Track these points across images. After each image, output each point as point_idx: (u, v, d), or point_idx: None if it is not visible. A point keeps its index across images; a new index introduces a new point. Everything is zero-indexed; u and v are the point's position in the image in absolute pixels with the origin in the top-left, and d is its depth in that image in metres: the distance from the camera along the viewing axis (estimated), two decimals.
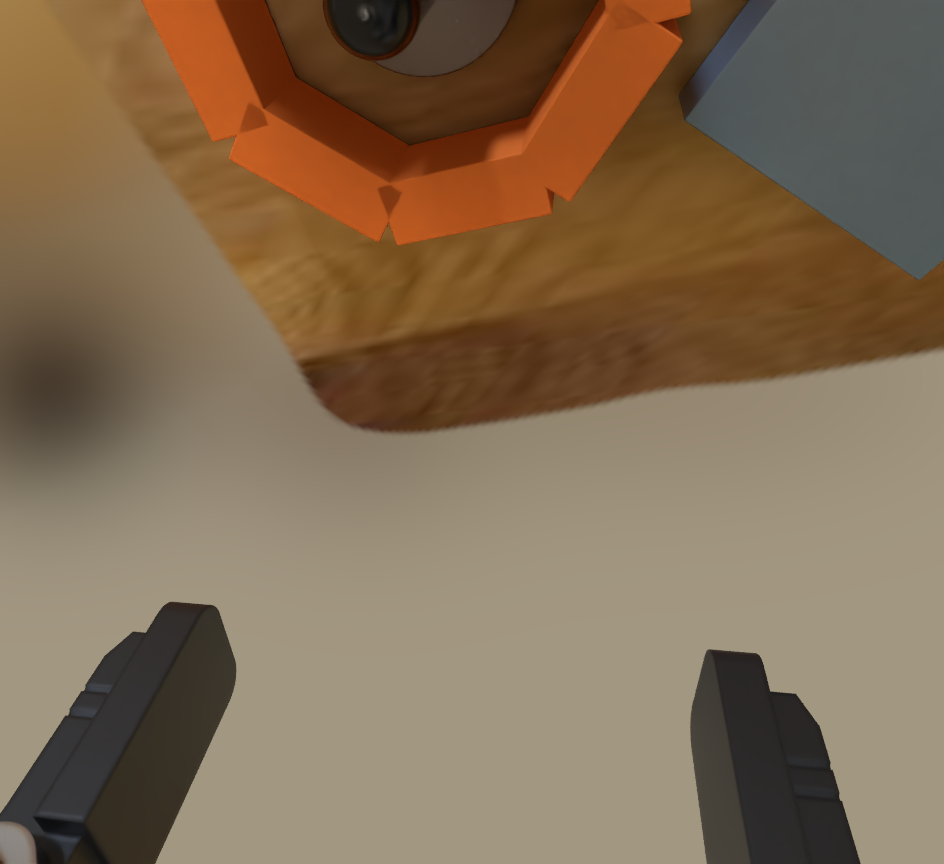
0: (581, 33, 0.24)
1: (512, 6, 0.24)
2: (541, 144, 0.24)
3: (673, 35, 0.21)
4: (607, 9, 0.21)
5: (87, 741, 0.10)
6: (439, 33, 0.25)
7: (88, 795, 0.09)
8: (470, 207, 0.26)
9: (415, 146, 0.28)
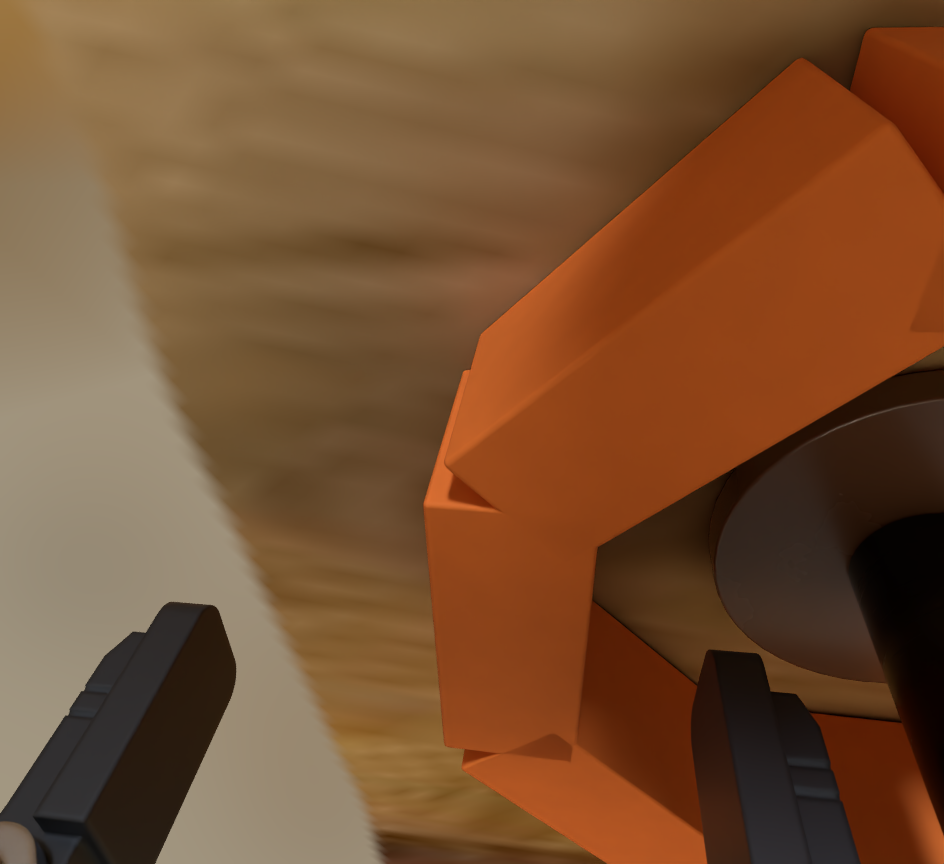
0: None
1: None
2: None
3: None
4: None
5: (87, 741, 0.10)
6: None
7: (88, 795, 0.09)
8: None
9: None
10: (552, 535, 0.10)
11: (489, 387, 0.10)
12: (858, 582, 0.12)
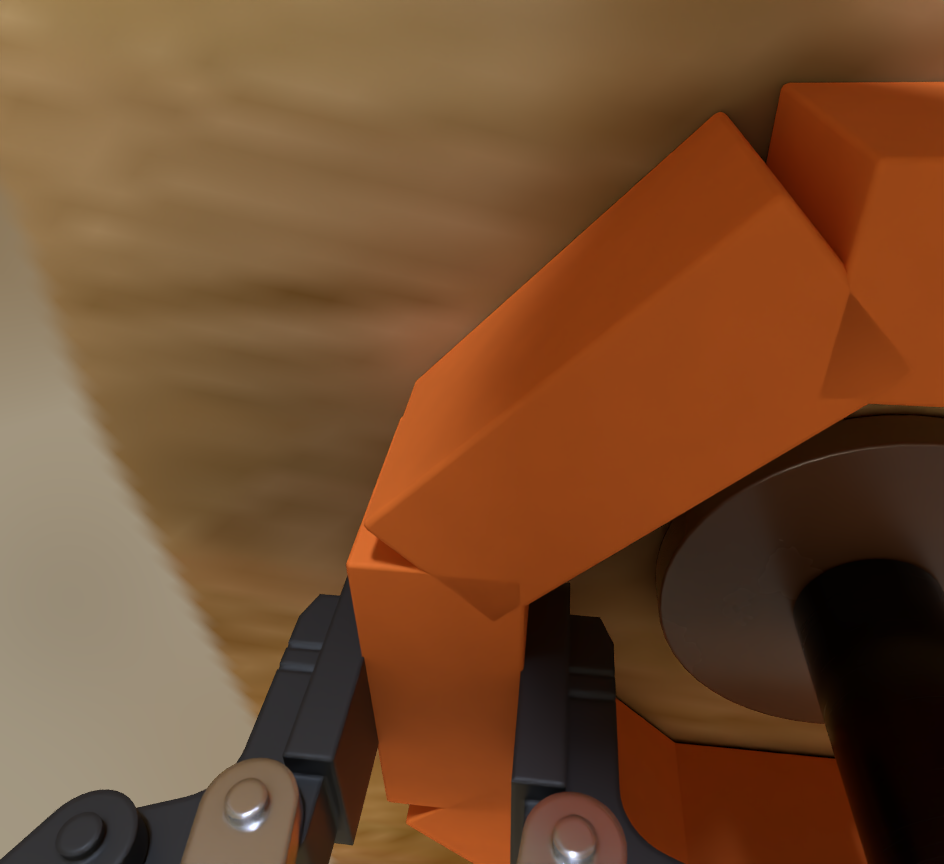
0: None
1: None
2: None
3: None
4: None
5: (315, 690, 0.10)
6: None
7: (330, 737, 0.09)
8: None
9: (691, 757, 0.16)
10: (478, 595, 0.09)
11: (413, 443, 0.10)
12: (801, 628, 0.12)
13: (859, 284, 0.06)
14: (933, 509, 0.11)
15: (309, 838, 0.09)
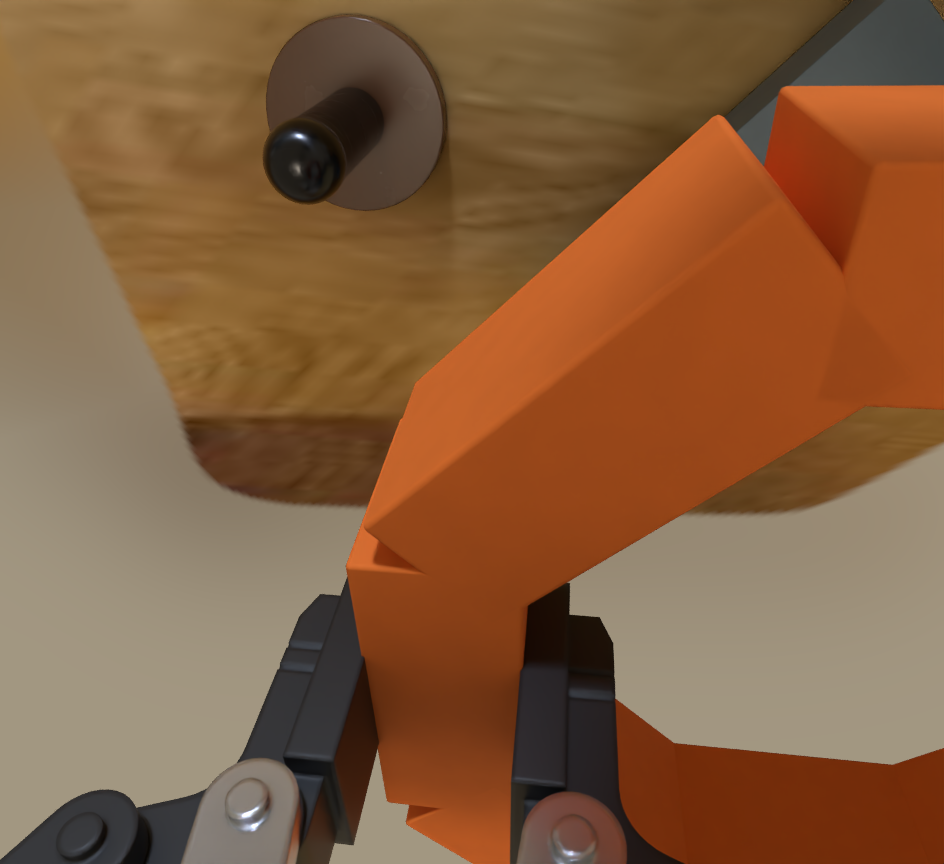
0: None
1: (428, 173, 0.28)
2: None
3: None
4: None
5: (315, 690, 0.10)
6: (364, 178, 0.29)
7: (330, 737, 0.09)
8: None
9: (690, 757, 0.16)
10: (477, 596, 0.09)
11: (412, 445, 0.10)
12: None
13: (856, 288, 0.07)
14: (356, 54, 0.26)
15: (309, 838, 0.09)
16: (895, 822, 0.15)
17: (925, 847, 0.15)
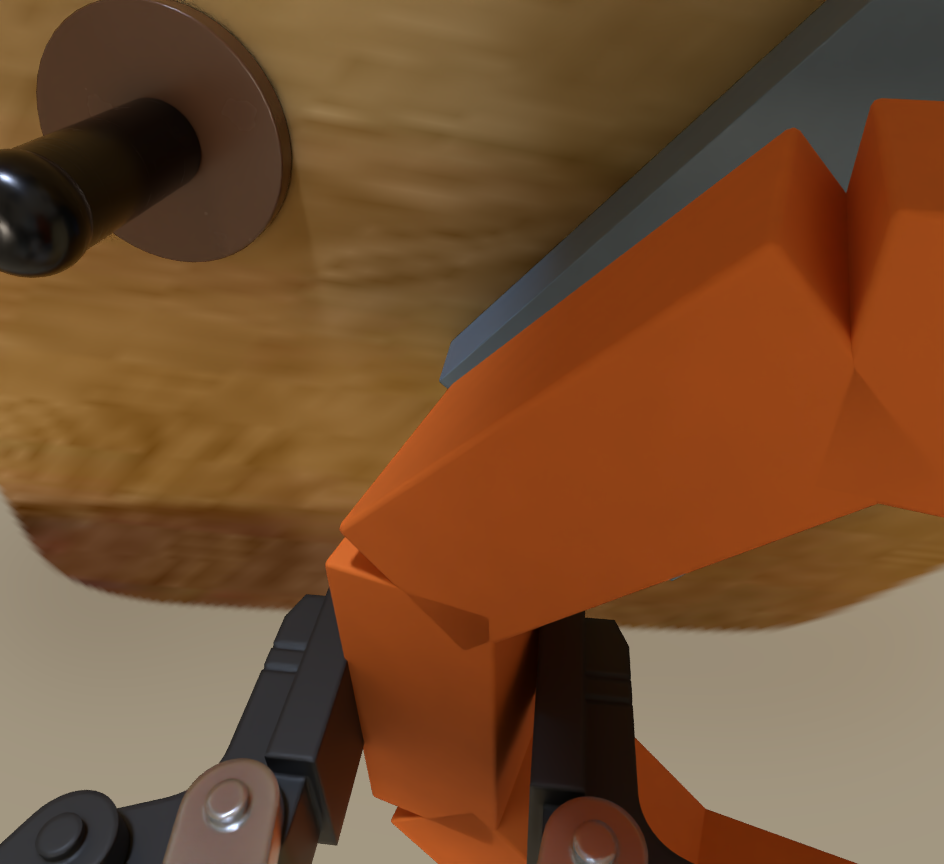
0: None
1: (269, 215, 0.21)
2: None
3: None
4: None
5: (298, 690, 0.10)
6: (185, 220, 0.21)
7: (312, 737, 0.09)
8: None
9: (720, 829, 0.15)
10: (448, 621, 0.09)
11: (408, 453, 0.09)
12: None
13: (866, 360, 0.05)
14: (149, 52, 0.19)
15: (290, 838, 0.09)
16: None
17: None
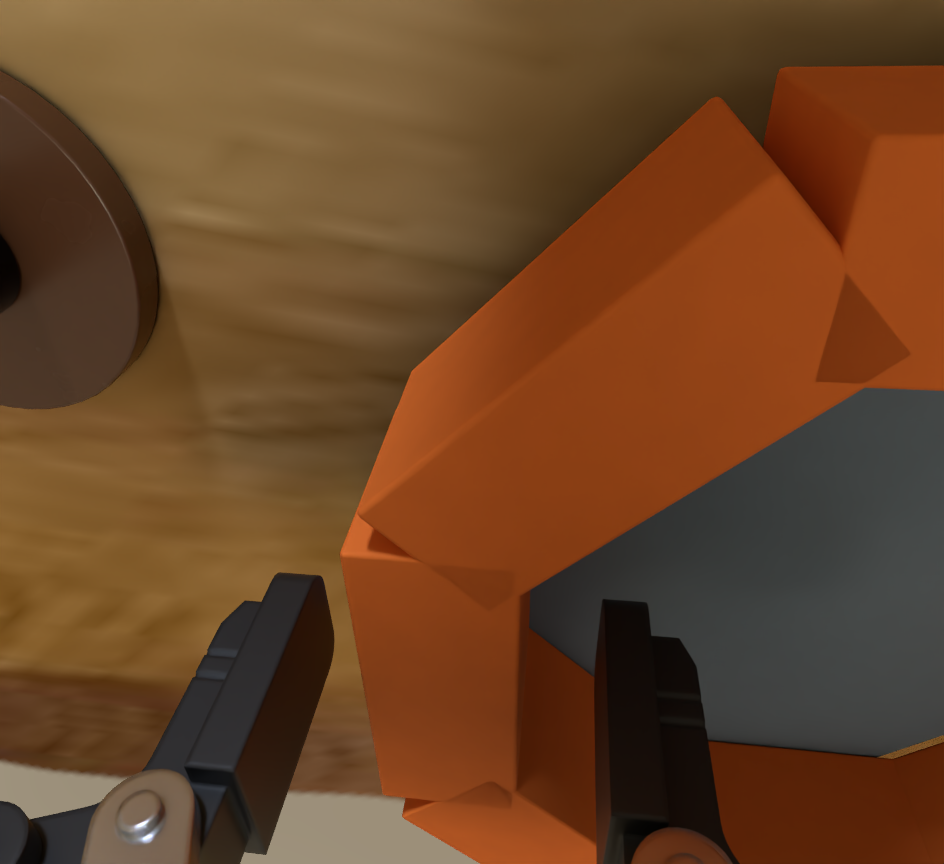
0: None
1: (126, 355, 0.14)
2: None
3: None
4: None
5: (224, 698, 0.10)
6: (10, 357, 0.15)
7: (233, 747, 0.09)
8: None
9: None
10: (473, 584, 0.09)
11: (407, 432, 0.10)
12: None
13: (855, 265, 0.06)
14: None
15: (207, 849, 0.09)
16: (895, 816, 0.15)
17: (926, 841, 0.15)
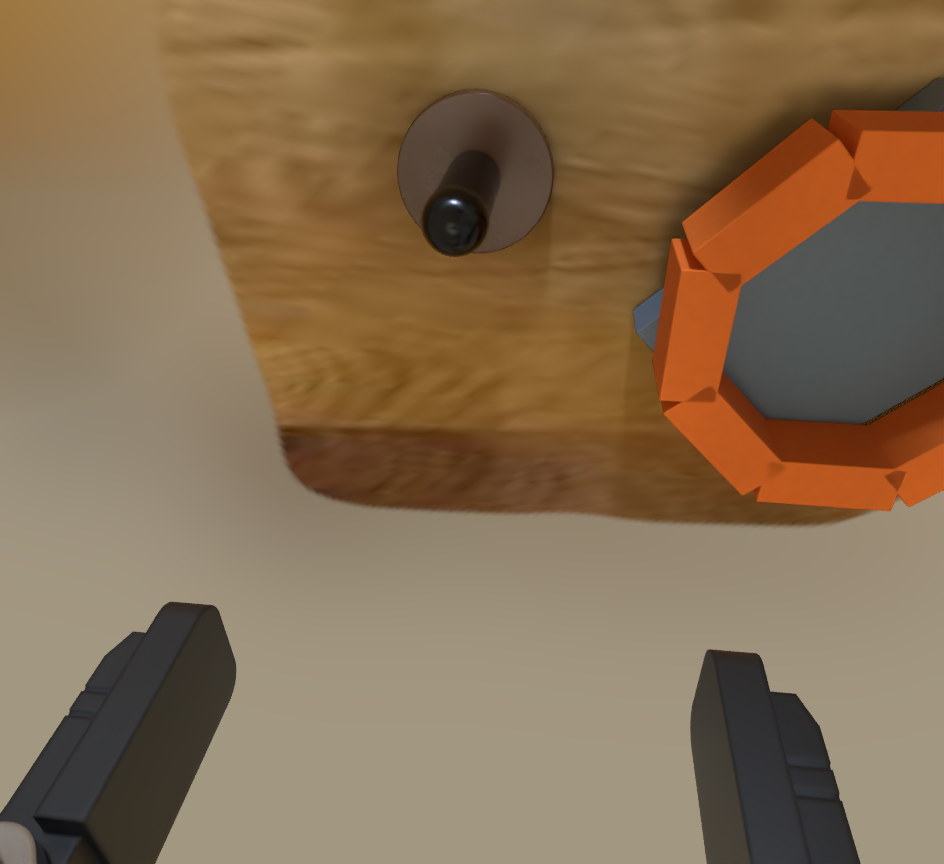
0: None
1: (534, 224, 0.33)
2: (912, 468, 0.32)
3: None
4: None
5: (87, 741, 0.10)
6: None
7: (88, 795, 0.09)
8: (832, 492, 0.33)
9: (773, 422, 0.35)
10: (726, 281, 0.28)
11: (703, 230, 0.28)
12: None
13: (857, 164, 0.25)
14: (482, 124, 0.31)
15: None
16: (868, 439, 0.34)
17: (881, 445, 0.33)
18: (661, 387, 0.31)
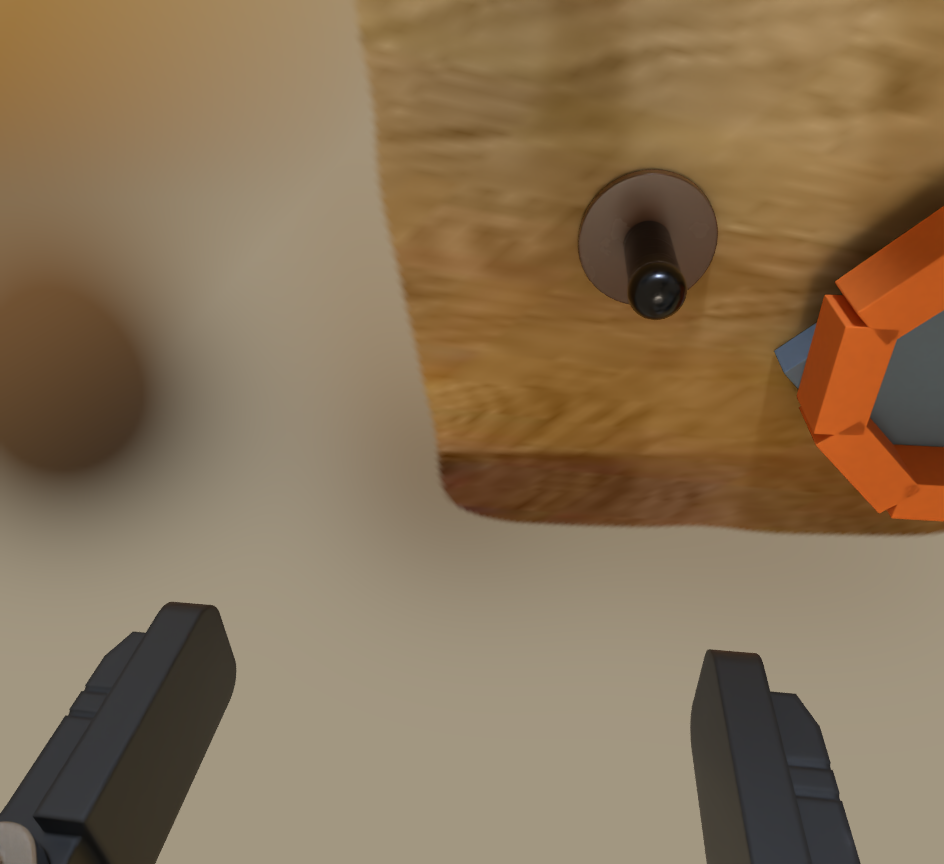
0: None
1: (696, 281, 0.38)
2: None
3: None
4: None
5: (87, 741, 0.10)
6: None
7: (88, 795, 0.09)
8: None
9: (901, 448, 0.40)
10: (884, 335, 0.33)
11: (863, 292, 0.33)
12: (623, 247, 0.37)
13: None
14: (660, 199, 0.36)
15: None
16: None
17: None
18: (816, 422, 0.36)
